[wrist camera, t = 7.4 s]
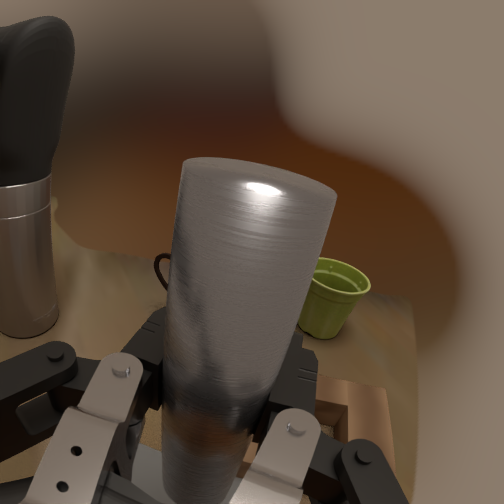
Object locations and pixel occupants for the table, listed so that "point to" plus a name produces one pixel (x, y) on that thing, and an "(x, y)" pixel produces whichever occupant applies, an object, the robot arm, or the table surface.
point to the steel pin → (231, 311)
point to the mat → (159, 475)
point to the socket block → (347, 416)
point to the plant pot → (331, 297)
